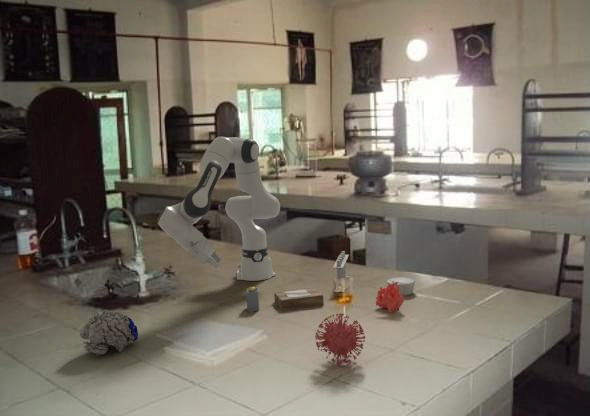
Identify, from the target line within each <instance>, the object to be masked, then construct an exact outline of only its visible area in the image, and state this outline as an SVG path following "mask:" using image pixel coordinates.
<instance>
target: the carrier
mask: <svg viewBox="0 0 590 416" xmlns="http://www.w3.org/2000/svg"><path fill="white" fill-rule="evenodd" d="M245 292H246V308H247V309H246V310H247V312H253V311H255V312H257V311H259V310H260V298H259V297H260V295H259V288H258V287H256V292H249V288H246V291H245Z"/></svg>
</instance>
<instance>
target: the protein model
mask: <svg viewBox="0 0 590 416" xmlns="http://www.w3.org/2000/svg"><path fill="white" fill-rule="evenodd" d="M397 284H398V282H395V283H394V282H392V284H389V285H388V284H387V285H386V286H385V287H382V286H381V287H379V290H378V291H377V294H376V297H375V299H376V301H375V306H378V307H379V308H381V309H387V312H388V313H390V314H392V313H393V311H394V310H395V311H399V310H400V308H401V306H402V305H403V304H404V301H405V299H404V296H402V295H401V294H400V293H399V289H400V287H399V285H397ZM395 285H397V288H396V287H395ZM389 288H390V289H389Z"/></svg>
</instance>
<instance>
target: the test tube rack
mask: <svg viewBox="0 0 590 416" xmlns="http://www.w3.org/2000/svg"><path fill="white" fill-rule="evenodd" d="M349 256H350V254H346V251H345V250H343V251H341V252H340V254H339V255H338V257H337V259H336V261H335V263H334V265H333V266H332V269H336V275H337V276H336V278H337V279H341V278H345V277H351V276H350V275H349V276H348V275H347V272H346V271H347V270H346V268H347V267H346V263H347V260H348V258H349ZM337 279H336V280H337ZM334 292H335V288H334V290H333V293H334Z"/></svg>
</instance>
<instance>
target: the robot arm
mask: <svg viewBox="0 0 590 416" xmlns="http://www.w3.org/2000/svg"><path fill="white" fill-rule="evenodd" d="M259 154H260V148H259V144H258V143H257V141H256V140H253V139H252V138H251V139H250V138H244V137H235V136H233V137H228V136H227V137H226V136H217V137H216V138H215V139H213V141H211V143H210V144H209V145H208V147H207V149H206V150H205V152H204V153H203V156H202V157H201V160H200V162H199V163H200V164H199V167H198V168H199V171H200V173H201V177H200V179H199V181H198V183H197V185H196V187H195V188H194V189H192V190H191V191H190V192H188V194H186V196H185V198H184V199H183V200H182V202H178V203H176V204H174V205H170V206H165V207H164V208H163V209H162V210H161V212H160V214H159V215H158V217H157V219H156V220H157V225H158V226H159V227H160V229H162V230H163V232H165V233H166V234H167V235H168V236H169V237H170V238H172V239H173V240H175V241H176V243H177V244H178V245H179V246H181V247H182V248H183V249H184V250H185V251H186V252H190V253H191V254H192V255H193V256H194V257H195V258H196V259H197V260H198V261H200V263H202V264H204V265H205V264H206V263H207V264H208V265H210V266H213V267H214V268H215V269H217V268H218V267H220V262H221V260H222V258H221V257H219V256H218V254H217V253H216V252H215V251H214V250H215V249H216V248H215V246H214V245H213V244H212V243H211V242H210V241H209V240H208V239H207V238H206V237H205V236H204V233H203V232H202V231H201V230H198V228H196V227H195V226H194V224H196V223H198V222H199V221H200V220H201V218H203V217H204V216H205V215H206V214H208V213H209V211H210V209H211V205H212V194H213V191H214V189H215V186H216V185H217V182H218V181H219V180H220V179H221V178H222V177H223V176H224V174H225V172H227V170H228V168H229V165H230V164H234V170H235V171H234V172H235V177H236V185H237V187H238V188H239V189H240V190H241V191H243V192H245V193H247V194H248V195H238V196H237V195H236V196H232V197H230V198H228V199H227V200H226V203H225V207H224V208H225V212H226V215H227V216H228V218H230V219H232V221H233V222H235V223H236V225H237V227H238V228H239V230H240V234H241V240H242V249H241V255H242V258H241V260H240V263H237V264H236V265H237V269H238V270H236V280H239V281H251V282H253V281H254V282H256V281H264V280H268V279H271V278H272V277H274V276H276V275H277V273H276V272H274V271H273V264H272V258H270V256H269V250H268V247H267V232H266V231H265V229H264V228H262V227H261V226H259V225H257V224H255V222H254V220H268V219H273V218H275V217H277V216H279V213H280V211H281V204H280V201H279V199H278V198H277V197H276V196H274V195H273V194H272V193H270V192H269V191H268V190H267V188H266V187H265V186H264V183H263V181H262V175H261V169H260V162H259Z"/></svg>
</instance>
